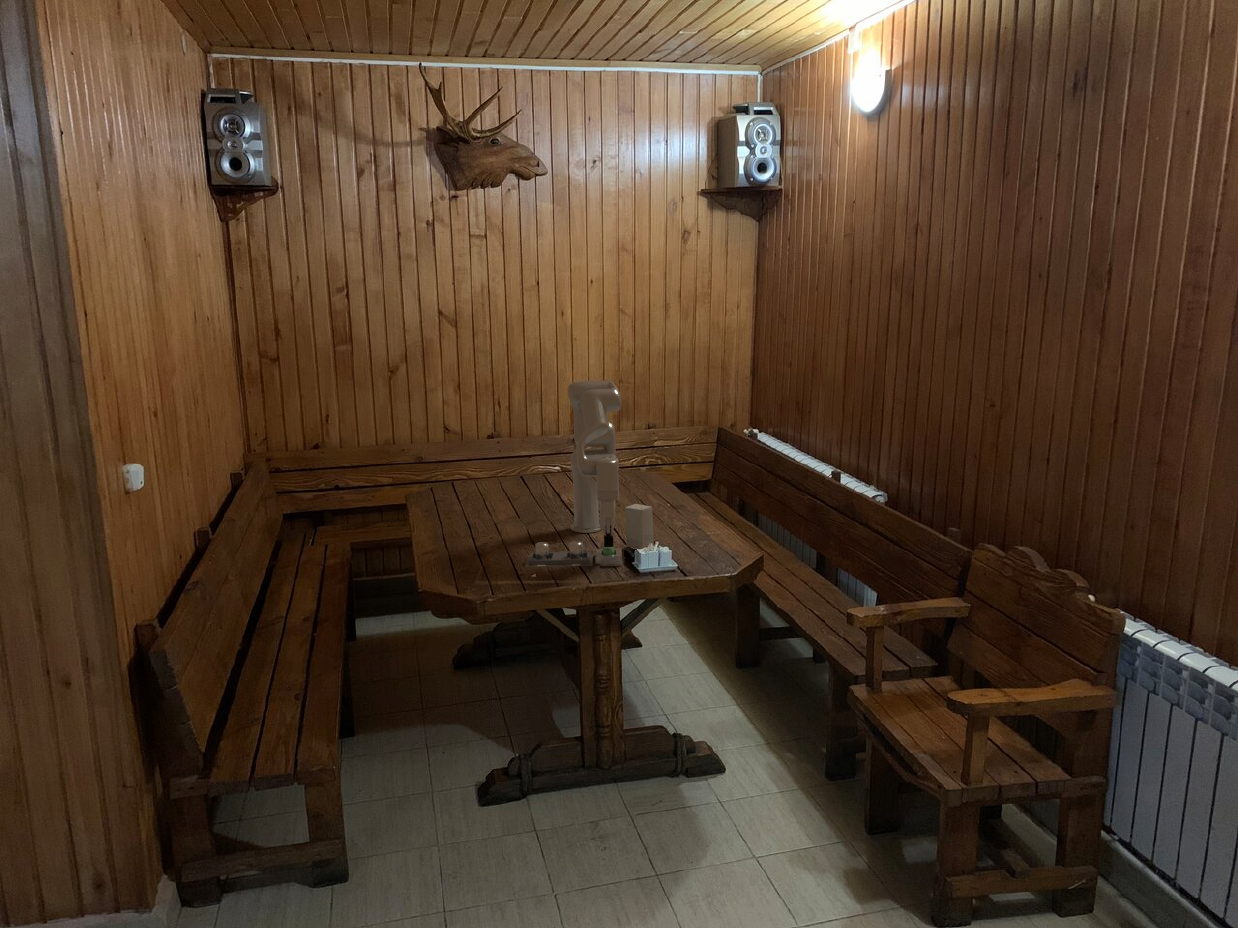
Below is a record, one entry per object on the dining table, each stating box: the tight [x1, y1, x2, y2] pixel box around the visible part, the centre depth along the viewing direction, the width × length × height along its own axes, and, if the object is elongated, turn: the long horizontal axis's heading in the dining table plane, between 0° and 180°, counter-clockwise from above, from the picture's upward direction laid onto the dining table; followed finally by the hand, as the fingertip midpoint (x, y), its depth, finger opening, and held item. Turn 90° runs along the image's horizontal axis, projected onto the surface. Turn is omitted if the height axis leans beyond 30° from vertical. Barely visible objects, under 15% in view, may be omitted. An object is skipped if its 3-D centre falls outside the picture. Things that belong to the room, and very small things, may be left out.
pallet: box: [524, 551, 594, 568], centre depth 311 cm, size 13×23×2 cm, turn 90°
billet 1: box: [534, 541, 550, 560], centre depth 311 cm, size 4×4×6 cm
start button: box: [602, 546, 615, 555], centre depth 311 cm, size 4×4×3 cm
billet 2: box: [569, 540, 584, 559], centre depth 311 cm, size 4×4×6 cm
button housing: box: [595, 547, 623, 567], centre depth 311 cm, size 9×9×4 cm
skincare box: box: [624, 503, 654, 548], centre depth 326 cm, size 8×7×16 cm
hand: (608, 546), depth 310 cm, fingers closed
